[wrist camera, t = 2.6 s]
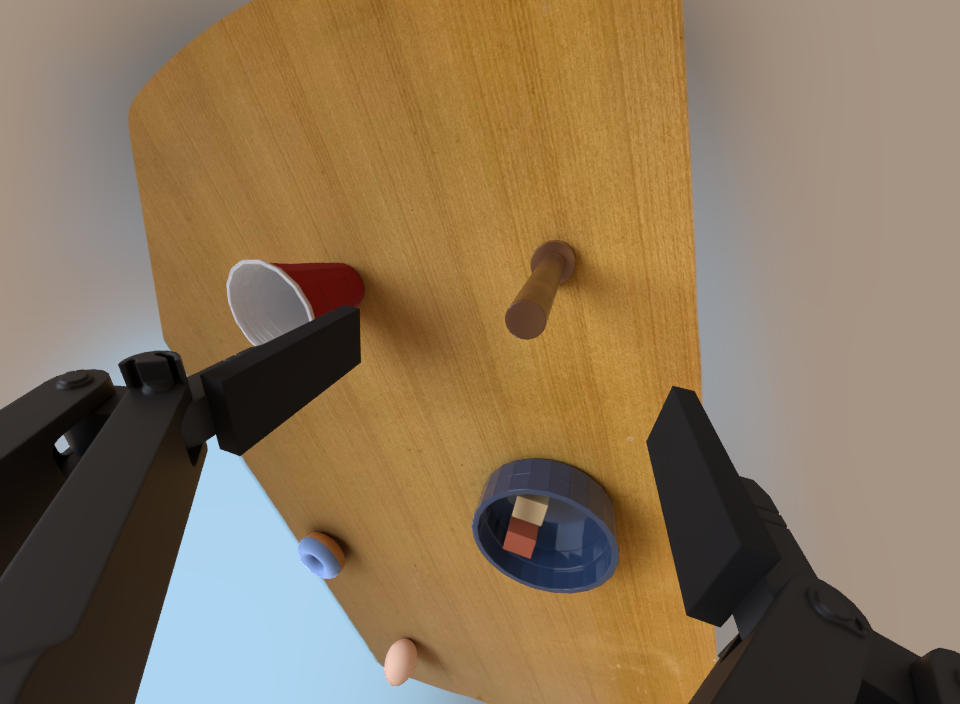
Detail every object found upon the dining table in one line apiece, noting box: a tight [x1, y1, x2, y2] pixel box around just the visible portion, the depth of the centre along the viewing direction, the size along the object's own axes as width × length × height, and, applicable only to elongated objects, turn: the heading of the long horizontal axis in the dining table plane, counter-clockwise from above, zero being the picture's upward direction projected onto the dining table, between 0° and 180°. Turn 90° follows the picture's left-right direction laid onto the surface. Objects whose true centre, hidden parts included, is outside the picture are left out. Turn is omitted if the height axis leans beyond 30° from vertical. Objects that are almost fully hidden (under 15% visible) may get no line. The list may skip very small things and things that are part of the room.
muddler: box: [505, 240, 576, 339], centre depth 28 cm, size 4×4×18 cm
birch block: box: [512, 494, 549, 526], centre depth 47 cm, size 4×4×4 cm
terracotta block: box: [503, 508, 539, 559], centre depth 50 cm, size 4×4×4 cm
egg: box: [385, 639, 417, 686], centre depth 75 cm, size 7×7×8 cm
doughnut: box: [298, 532, 345, 579], centre depth 69 cm, size 10×10×5 cm
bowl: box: [472, 459, 619, 593], centre depth 47 cm, size 19×19×6 cm
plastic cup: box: [227, 260, 364, 346], centre depth 39 cm, size 11×11×12 cm
